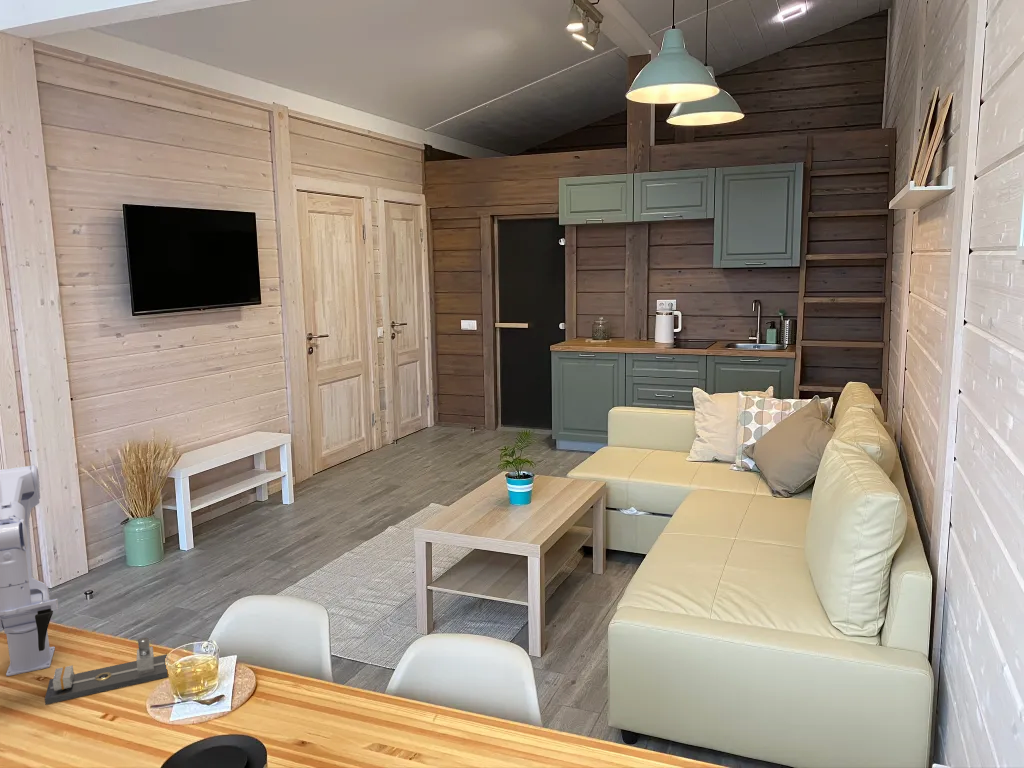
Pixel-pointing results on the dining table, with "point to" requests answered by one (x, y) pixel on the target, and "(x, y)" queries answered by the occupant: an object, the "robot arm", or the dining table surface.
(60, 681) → the block
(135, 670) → the plate
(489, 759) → the dining table surface
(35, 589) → the robot arm
